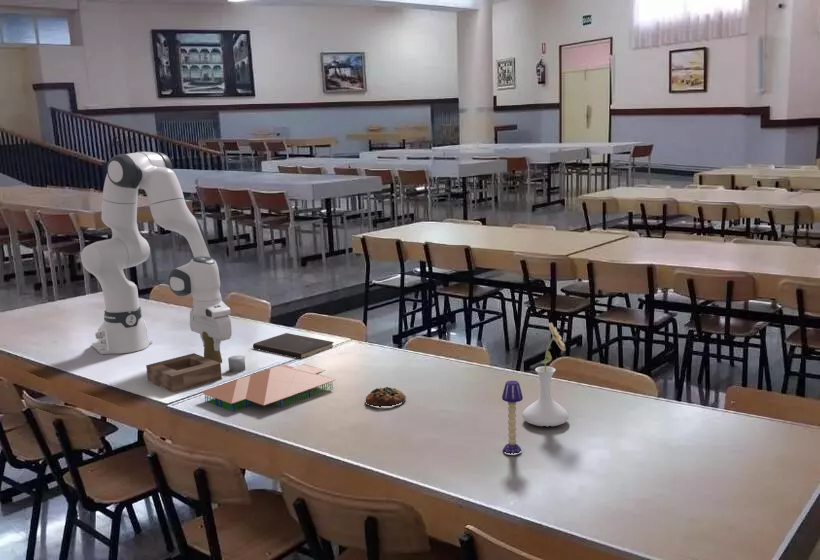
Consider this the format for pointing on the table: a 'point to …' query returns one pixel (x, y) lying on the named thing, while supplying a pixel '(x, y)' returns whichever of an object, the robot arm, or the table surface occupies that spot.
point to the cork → (210, 349)
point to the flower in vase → (546, 394)
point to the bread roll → (385, 397)
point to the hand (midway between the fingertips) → (211, 348)
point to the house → (269, 386)
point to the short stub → (236, 363)
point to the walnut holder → (184, 372)
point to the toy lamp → (512, 413)
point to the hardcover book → (293, 345)
